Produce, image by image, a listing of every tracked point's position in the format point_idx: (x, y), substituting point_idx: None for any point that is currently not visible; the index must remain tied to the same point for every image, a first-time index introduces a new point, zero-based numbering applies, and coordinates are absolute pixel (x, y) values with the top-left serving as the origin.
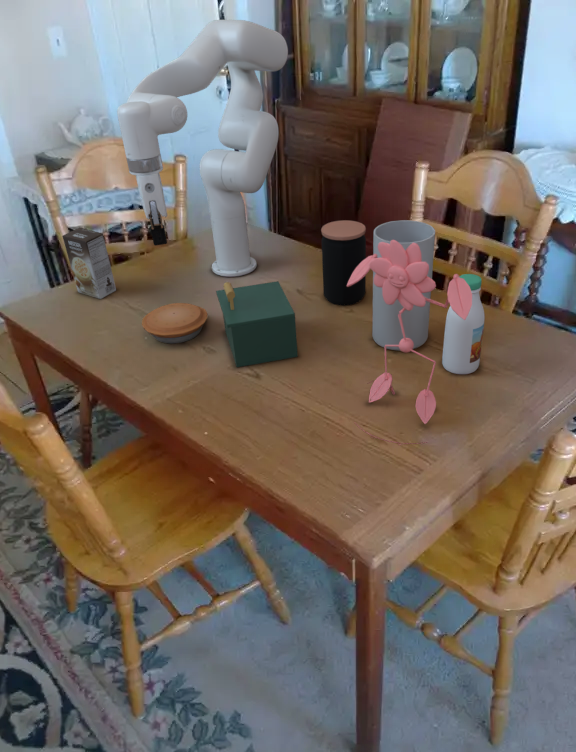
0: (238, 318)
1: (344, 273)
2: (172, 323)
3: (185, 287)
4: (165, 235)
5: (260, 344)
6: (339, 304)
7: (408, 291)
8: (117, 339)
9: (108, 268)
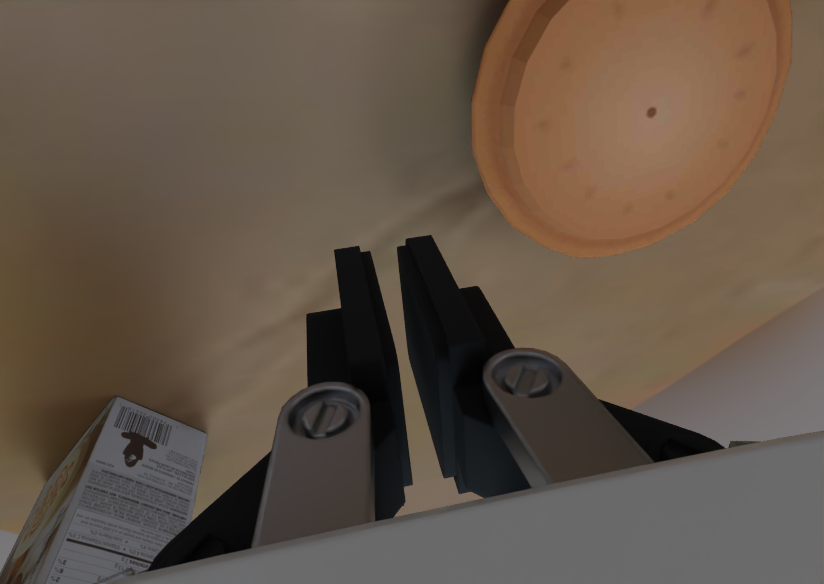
0: None
1: None
2: (732, 116)
3: (76, 52)
4: (453, 279)
5: None
6: None
7: None
8: (558, 321)
9: (96, 491)
